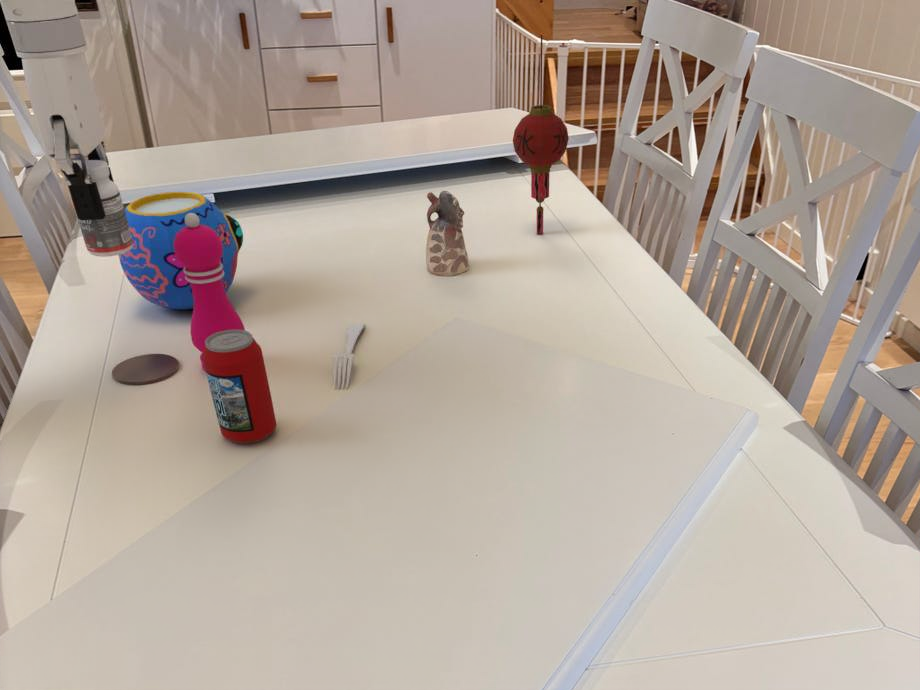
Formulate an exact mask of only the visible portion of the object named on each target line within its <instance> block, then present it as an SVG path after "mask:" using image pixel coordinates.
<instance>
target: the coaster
mask: <svg viewBox="0 0 920 690" xmlns="http://www.w3.org/2000/svg"><path fill="white" fill-rule="evenodd" d="M179 368H180V362H179V360H178V359H177V358H176V357H174V356H173V355H170V354H165V353H147V354H141V355H136V356H132V357H130V358H127V359H124V360H122V361H121V362H119V363H118V364H115V366H114V367H113V369H112V370H111V377H112V379H113V380H114V381H116V382H117V383H119V384H123V385H129V386H140V385H149V384H153V383H158V382H160V381H163V380H166V379H168V378H170V377H171V376H173V375H174V374H175V373H177V372H178V371H179Z"/></svg>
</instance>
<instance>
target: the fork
mask: <svg viewBox="0 0 920 690" xmlns="http://www.w3.org/2000/svg"><path fill="white" fill-rule="evenodd" d="M365 325H366V324H365V323H350V324H348V325H347V327H346V338H347V339H346V346H345V351H344V353H341V354H339V353H338V354H334V355H333V358H332V359H333V360H332V361H333V362H332V377H333V390H336V384H337V388H338V390H340V389H341V390H344V387H345V380H346V390H348V389H349V384H350V378H351V371H352V366H353V361H354V357H355V356H356V354H355V353H353V350H354V347H355V344H356V342H357V340H358V337H359V336H360V335H361V332H362V331H363V329H364V327H365ZM341 379H342V381H341ZM336 382H337V383H336ZM341 383H342V384H341ZM340 387H341V388H340Z"/></svg>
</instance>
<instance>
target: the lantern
mask: <svg viewBox="0 0 920 690" xmlns="http://www.w3.org/2000/svg"><path fill="white" fill-rule="evenodd" d="M539 77H540V81H539V82H540V87H539V89H540V90H539V93H540V94H539V102H540V104H538V105H536V104H535V105H532V106H531V107H530V110H529V113H528V114H526V115H525V116H523V117H522V118H521V119H520V120H519V122H518V124H517V125H516V127H515V129H514V132H513V137H512V145H513V149H514V153H515V154H516V155H517V156H518V158H519V160H520V161H521V162H522V163H523V164H525V165H527V166H528V167H529V169H530V173H531V174H530V180H531V182H530V187H531V188H530V197H531V198H532V199H534V200H535V201H536V203H538V205H539V206H537V207H536V235H539V236H540V235H541V236H542V235H543V234H544V211H545V210H544V207H543V206H542V203H543V202H545V199H549V197H550V172H551V169H552V165H554V164H556V163H558V162H559V161H560V160H561V159H562V157H563V156H564V154H566V151H567V148H568V145H569V139H570V138H569V132H568V128H567V126H566V124H565V122H564V121H563V119H562V118H561V117H559V116H558V115H556V114H555V113H553V110H552V106H551V105H547V104H543V34H540V76H539Z"/></svg>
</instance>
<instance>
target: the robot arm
mask: <svg viewBox="0 0 920 690" xmlns="http://www.w3.org/2000/svg"><path fill="white" fill-rule="evenodd" d="M0 7H1V9H2V13H3V15H4V19H5V22H6V25H7V27H8V31H9V34H10V37H11V41H12V44H13V47H14V50H15V53H16V56H17V57H18V58H21V63H22V64H21V65H22V70H23V75H24V80H25V85H26V90H27V93H28V98H29V102H30V105H31V110H32V113H33V118H34V121H35V124H36V128H37V131H38V135H39V139H40V142H41V146H42V149H43V152H44V154H45V155H46V156H47V157H48V158H49V159H55V162H56V164H57V166H58V167H59V168H60V171H61V173H62V174H63V176H64V181H65V184H66V186H67V187H68V191H69V194H71V195H70V197H71V198H72V199H71V202H72V201H73V202H72V205H73V204H74V205H73V208H74V207H75V209H74V211H75V210H76V212H75V215H76V214H77V215H76V218H77V217H78V219H79V220H98V219H104V218H105V211H104V208H103V204H102V201H101V198H100V194H99V191H98V187H97V184H96V182H92V176H91V171H90V165H89V160H101V161H105V162H106V163H107V165H108V168H109V172H110V174H109V179H110V180H111V181H113V182H114V183H115V181H114V177H113V174H112V170H111V167H110V166H109V165H110V161H109V158H108V155H107V153H106V151H105V145H104V144H105V142H104V140H105V138H106V127H105V122H104V118H103V114H102V111H101V107H100V103H99V100H98V97H97V93H96V90H95V88H94V83H93V80H92V78H91V74H90V70H89V68H88V64H87V62H86V59H85V57H84V54H83V53H84V52H86V51H88V49H89V48H88V45H87V40H86V37H85V33H84V30H83V26H82V22H81V19H80V16H79V12H78V7H77V4H76V0H0ZM71 150H77V151H78V153H71ZM80 161H81V165H82V169H81V167H80V166H79V165H78V163H75V162H80ZM78 219H77V220H78Z"/></svg>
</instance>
